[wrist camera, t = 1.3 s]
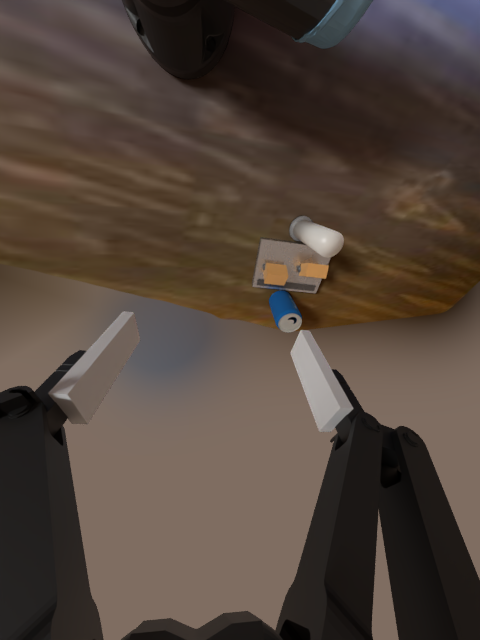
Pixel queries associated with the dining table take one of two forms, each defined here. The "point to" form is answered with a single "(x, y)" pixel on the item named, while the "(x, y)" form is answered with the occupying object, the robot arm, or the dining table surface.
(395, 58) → the dining table surface
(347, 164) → the dining table surface
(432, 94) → the dining table surface
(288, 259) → the breaker plate
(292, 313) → the beverage can
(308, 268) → the paddle
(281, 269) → the paddle
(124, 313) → the robot arm
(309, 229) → the white rounded smooth part
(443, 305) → the dining table surface
